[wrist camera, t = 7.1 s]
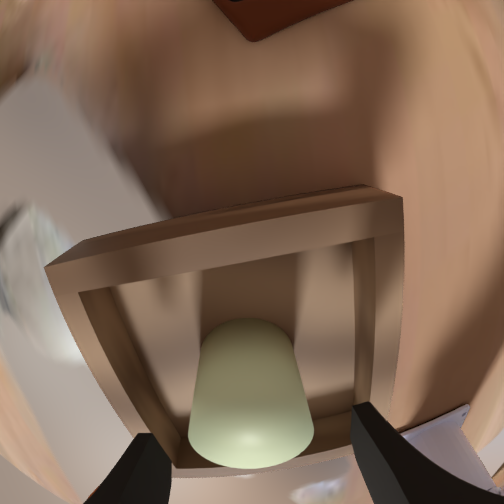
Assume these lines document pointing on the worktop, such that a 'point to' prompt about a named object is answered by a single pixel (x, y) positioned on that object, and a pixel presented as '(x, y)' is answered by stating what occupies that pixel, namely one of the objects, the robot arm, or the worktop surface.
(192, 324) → the walnut tray
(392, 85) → the worktop surface
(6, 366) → the worktop surface
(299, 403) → the green cylinder
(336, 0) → the smartphone
